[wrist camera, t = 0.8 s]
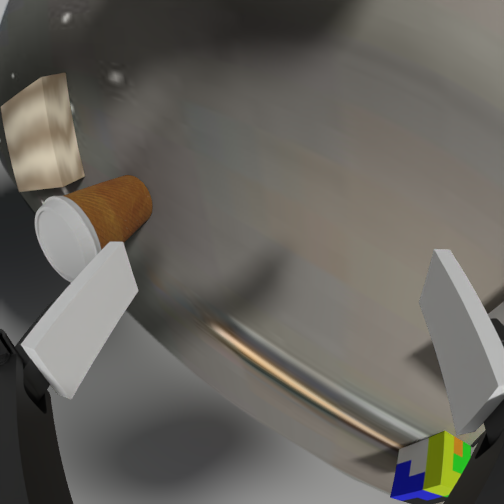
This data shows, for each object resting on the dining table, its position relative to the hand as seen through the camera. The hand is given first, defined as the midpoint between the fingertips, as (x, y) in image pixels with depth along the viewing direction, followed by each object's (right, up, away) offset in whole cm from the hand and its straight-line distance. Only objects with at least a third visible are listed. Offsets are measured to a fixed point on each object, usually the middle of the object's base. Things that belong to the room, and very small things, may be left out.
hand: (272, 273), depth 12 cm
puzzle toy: (+32, -34, +27) cm, 53 cm away
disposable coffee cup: (-15, +7, +23) cm, 29 cm away
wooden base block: (-31, +18, +24) cm, 43 cm away
